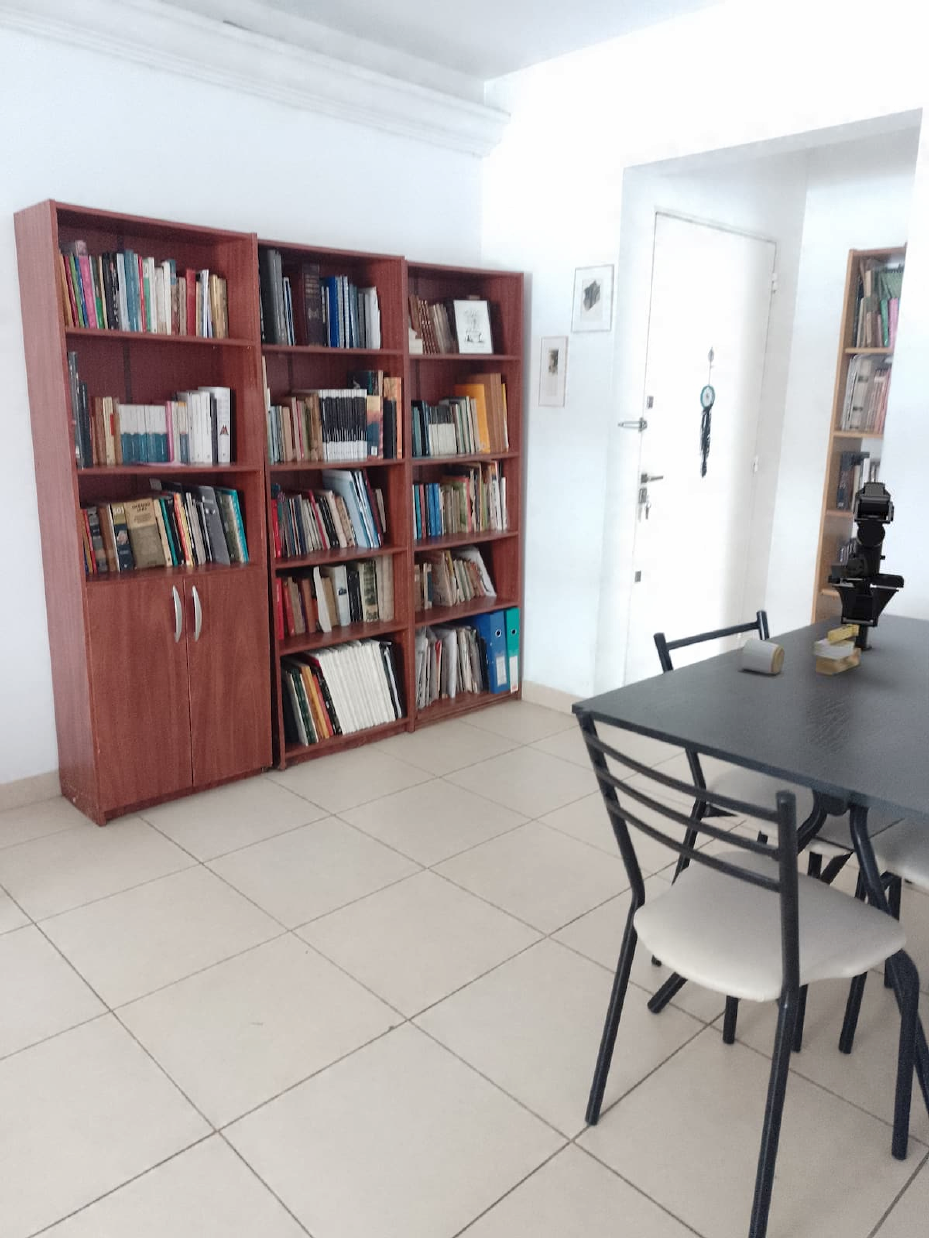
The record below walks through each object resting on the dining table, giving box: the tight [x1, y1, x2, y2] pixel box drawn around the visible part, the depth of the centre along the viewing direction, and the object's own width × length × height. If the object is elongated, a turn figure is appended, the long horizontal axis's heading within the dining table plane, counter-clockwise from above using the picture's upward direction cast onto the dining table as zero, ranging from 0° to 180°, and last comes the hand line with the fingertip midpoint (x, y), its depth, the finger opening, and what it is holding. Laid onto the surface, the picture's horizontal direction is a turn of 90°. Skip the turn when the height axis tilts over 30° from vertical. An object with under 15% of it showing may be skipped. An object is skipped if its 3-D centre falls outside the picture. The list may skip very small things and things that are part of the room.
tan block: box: [815, 636, 862, 676], centre depth 221 cm, size 15×4×7 cm, turn 134°
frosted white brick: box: [812, 637, 854, 660], centre depth 219 cm, size 8×6×3 cm
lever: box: [827, 624, 859, 643], centre depth 221 cm, size 13×3×2 cm, turn 134°
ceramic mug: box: [741, 637, 785, 675], centre depth 218 cm, size 11×8×8 cm
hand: (860, 617), depth 211 cm, fingers open, 9 cm apart
